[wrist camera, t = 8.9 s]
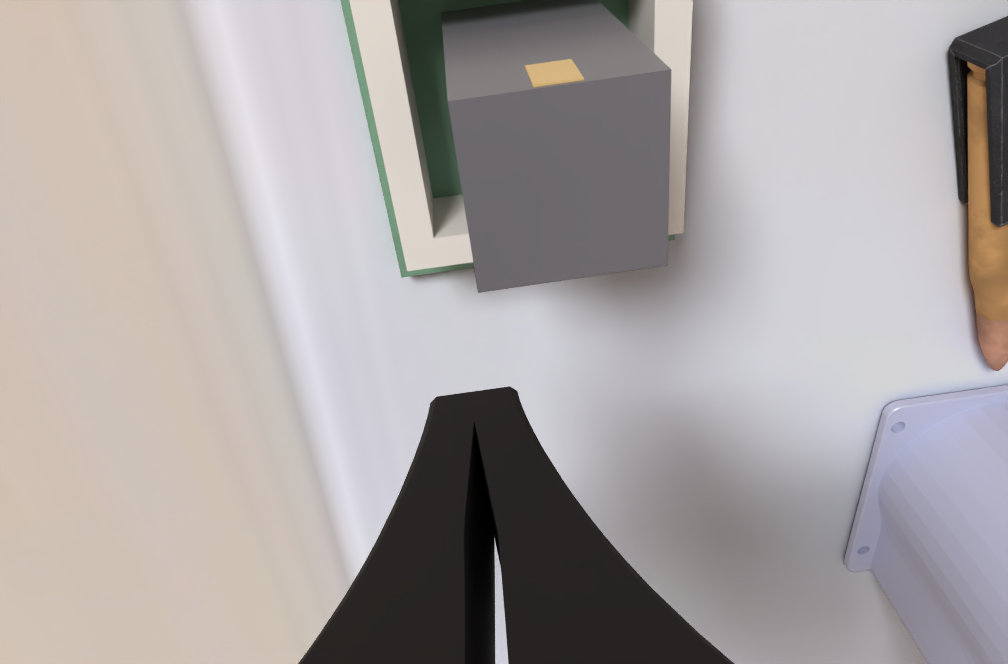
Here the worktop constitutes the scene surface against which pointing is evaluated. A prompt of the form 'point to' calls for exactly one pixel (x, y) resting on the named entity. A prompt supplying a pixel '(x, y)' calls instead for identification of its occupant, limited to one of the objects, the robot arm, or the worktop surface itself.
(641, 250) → the plug
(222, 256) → the worktop surface
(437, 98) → the board
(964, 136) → the ammunition clip
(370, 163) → the worktop surface
